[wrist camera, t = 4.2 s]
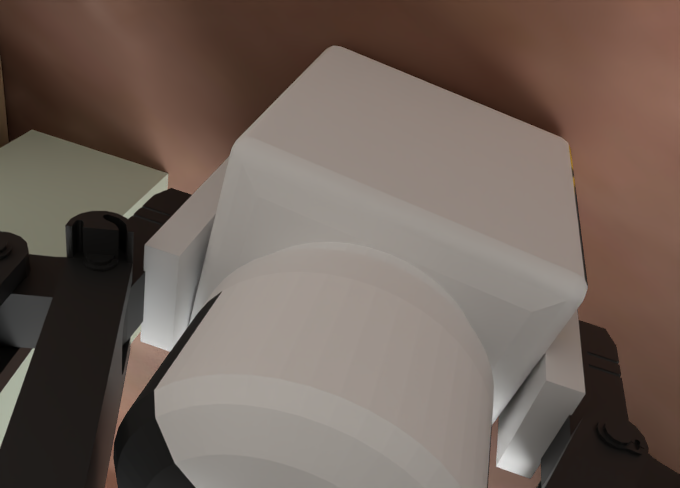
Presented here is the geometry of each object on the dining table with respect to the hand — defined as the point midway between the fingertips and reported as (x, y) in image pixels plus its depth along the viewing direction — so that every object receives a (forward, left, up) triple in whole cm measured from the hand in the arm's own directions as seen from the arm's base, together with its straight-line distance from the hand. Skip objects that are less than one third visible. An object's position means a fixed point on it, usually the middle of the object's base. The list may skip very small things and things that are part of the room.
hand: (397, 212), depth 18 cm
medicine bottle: (0, 0, -1) cm, 1 cm away
